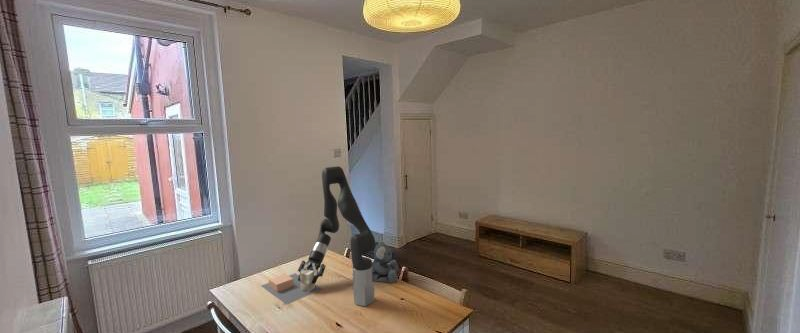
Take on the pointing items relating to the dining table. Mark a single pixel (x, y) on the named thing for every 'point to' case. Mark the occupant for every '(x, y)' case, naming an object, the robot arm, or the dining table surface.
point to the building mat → (291, 291)
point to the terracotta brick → (281, 282)
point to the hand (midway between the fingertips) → (306, 282)
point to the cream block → (307, 280)
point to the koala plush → (384, 264)
